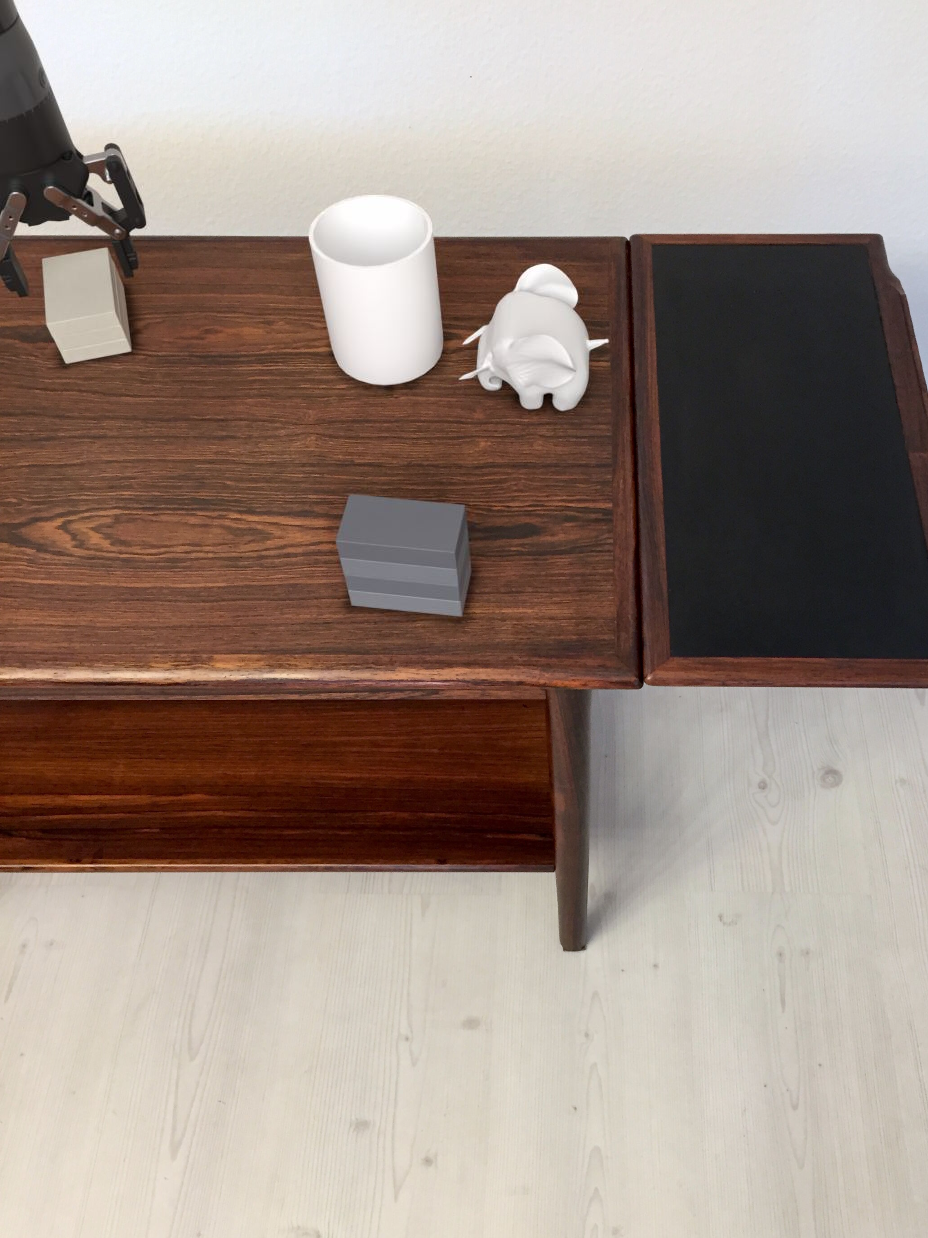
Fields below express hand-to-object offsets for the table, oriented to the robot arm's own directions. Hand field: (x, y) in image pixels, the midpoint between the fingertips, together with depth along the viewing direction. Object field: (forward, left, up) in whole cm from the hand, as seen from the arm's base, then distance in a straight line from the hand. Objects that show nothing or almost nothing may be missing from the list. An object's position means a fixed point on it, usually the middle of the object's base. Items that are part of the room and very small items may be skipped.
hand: (77, 281), depth 89 cm
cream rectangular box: (0, 0, -4) cm, 4 cm away
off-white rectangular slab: (0, 0, -2) cm, 2 cm away
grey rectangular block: (+33, -25, -4) cm, 42 cm away
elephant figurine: (+39, -3, -5) cm, 39 cm away
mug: (+26, +1, -5) cm, 26 cm away
